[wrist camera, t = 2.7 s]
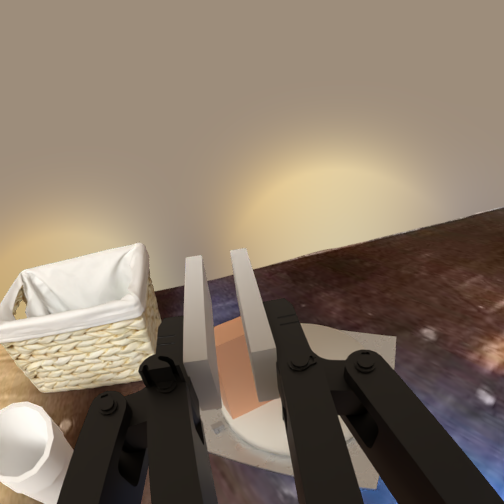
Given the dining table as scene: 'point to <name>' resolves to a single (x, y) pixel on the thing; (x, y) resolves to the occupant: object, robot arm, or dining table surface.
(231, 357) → the dial
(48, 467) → the foam cup
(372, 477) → the base plate
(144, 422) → the robot arm
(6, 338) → the storage basket
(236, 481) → the dining table surface
